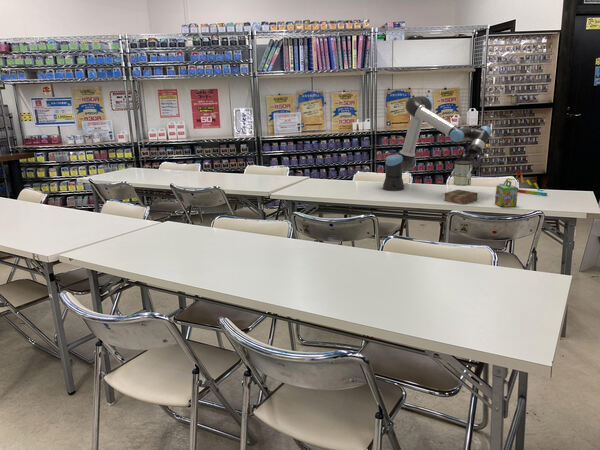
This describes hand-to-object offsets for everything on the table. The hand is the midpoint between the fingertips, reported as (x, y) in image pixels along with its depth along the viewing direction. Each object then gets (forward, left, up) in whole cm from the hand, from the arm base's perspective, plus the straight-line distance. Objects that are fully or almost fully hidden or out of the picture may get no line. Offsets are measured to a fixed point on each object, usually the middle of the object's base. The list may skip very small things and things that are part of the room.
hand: (460, 176), depth 287 cm
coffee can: (0, +3, -6) cm, 6 cm away
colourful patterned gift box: (+25, +11, -16) cm, 32 cm away
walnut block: (0, +3, -16) cm, 16 cm away
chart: (+15, +50, -16) cm, 54 cm away
